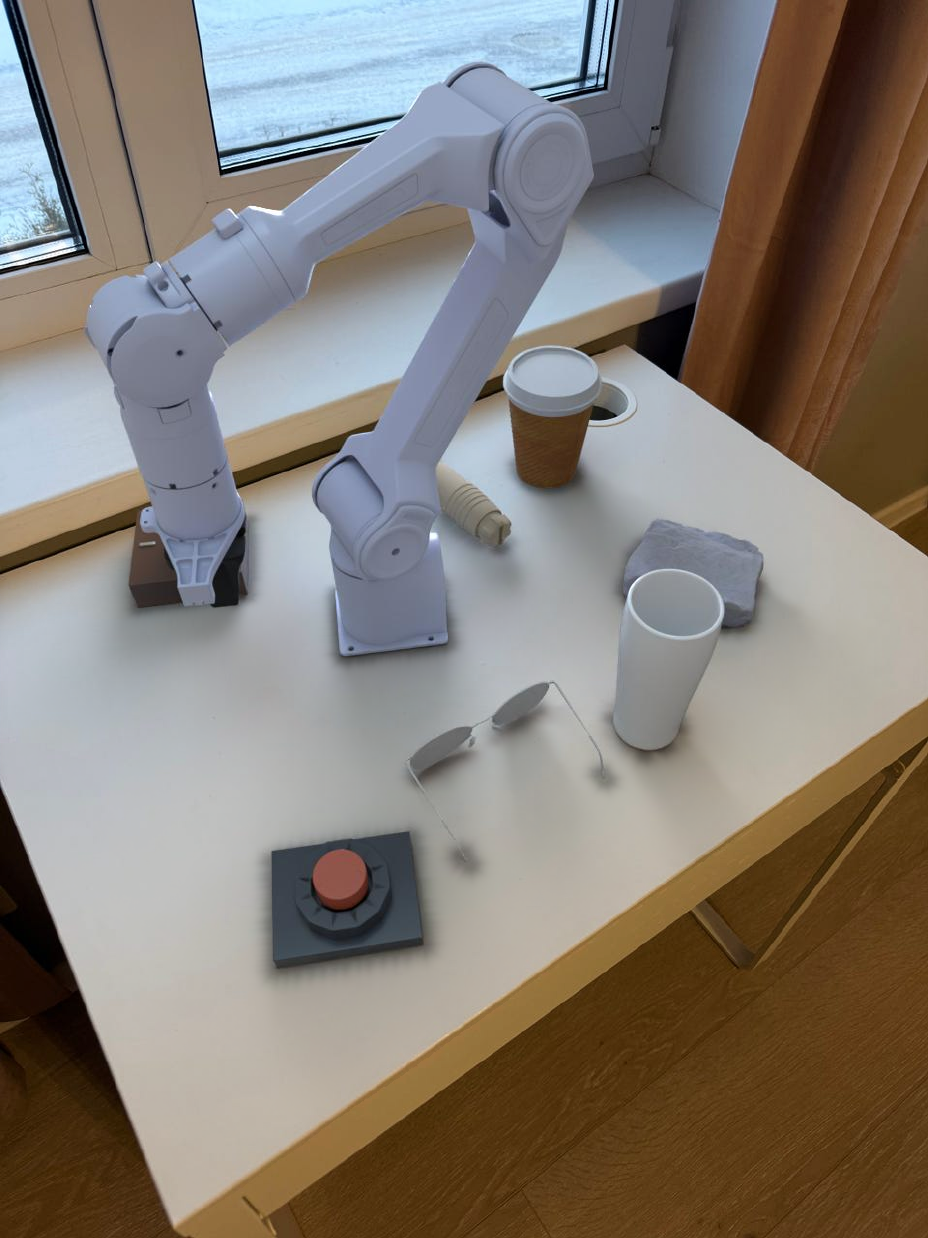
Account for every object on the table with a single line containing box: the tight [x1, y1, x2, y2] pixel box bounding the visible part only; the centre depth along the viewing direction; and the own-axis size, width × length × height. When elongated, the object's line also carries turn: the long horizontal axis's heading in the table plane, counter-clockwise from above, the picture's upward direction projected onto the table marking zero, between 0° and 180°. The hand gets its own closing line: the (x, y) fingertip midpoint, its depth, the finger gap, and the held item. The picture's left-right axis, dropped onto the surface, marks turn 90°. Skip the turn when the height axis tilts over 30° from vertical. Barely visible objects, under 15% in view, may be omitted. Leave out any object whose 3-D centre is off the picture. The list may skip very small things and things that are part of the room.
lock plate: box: [127, 498, 249, 608], centre depth 84 cm, size 10×10×3 cm
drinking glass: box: [612, 569, 724, 751], centre depth 67 cm, size 7×7×15 cm
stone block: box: [622, 518, 765, 628], centre depth 82 cm, size 12×5×10 cm
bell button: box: [313, 849, 369, 910], centre depth 61 cm, size 4×4×2 cm
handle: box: [436, 460, 513, 547], centre depth 89 cm, size 5×6×15 cm
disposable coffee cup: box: [502, 345, 603, 489], centre depth 90 cm, size 10×10×12 cm
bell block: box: [270, 830, 425, 969], centre depth 62 cm, size 10×8×3 cm
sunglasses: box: [404, 679, 606, 862], centre depth 68 cm, size 14×8×5 cm, turn 122°
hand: (225, 600), depth 70 cm, fingers closed
